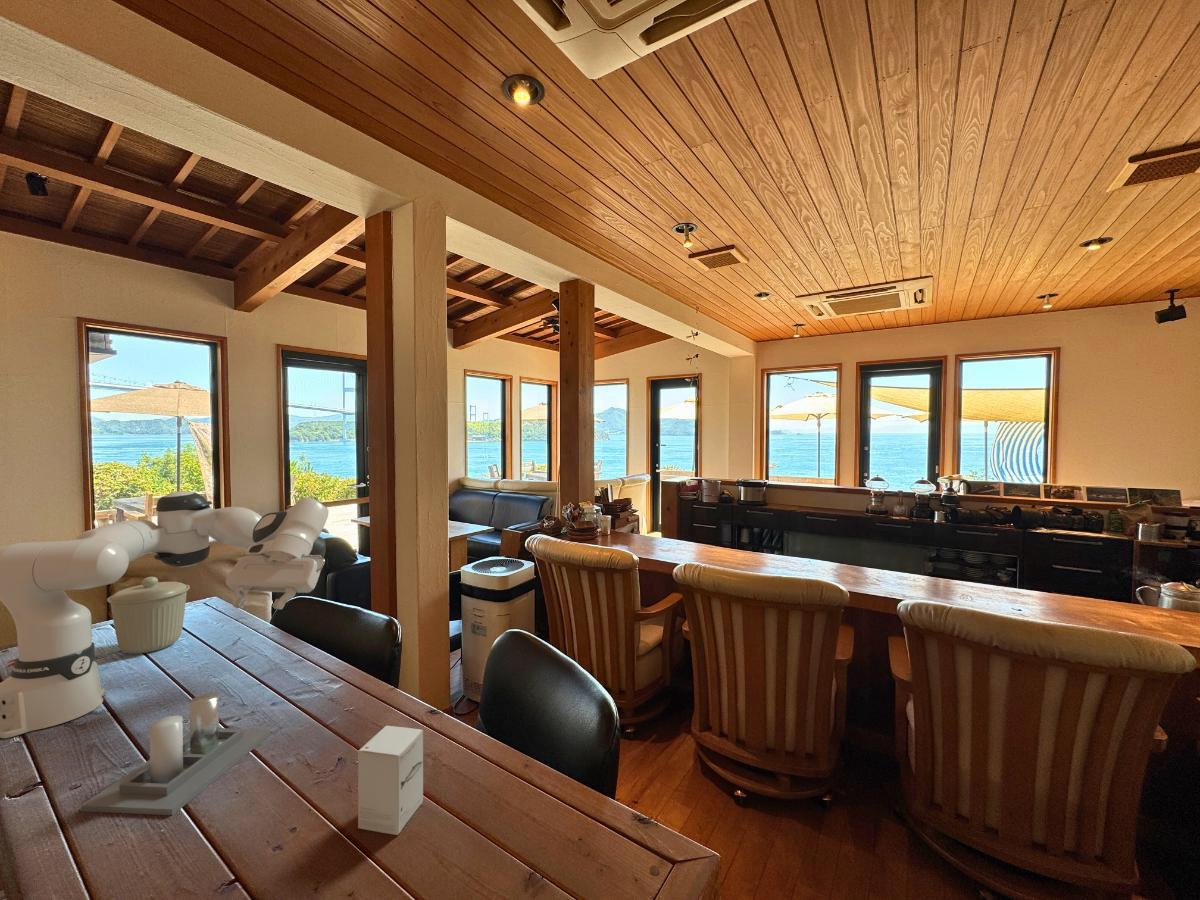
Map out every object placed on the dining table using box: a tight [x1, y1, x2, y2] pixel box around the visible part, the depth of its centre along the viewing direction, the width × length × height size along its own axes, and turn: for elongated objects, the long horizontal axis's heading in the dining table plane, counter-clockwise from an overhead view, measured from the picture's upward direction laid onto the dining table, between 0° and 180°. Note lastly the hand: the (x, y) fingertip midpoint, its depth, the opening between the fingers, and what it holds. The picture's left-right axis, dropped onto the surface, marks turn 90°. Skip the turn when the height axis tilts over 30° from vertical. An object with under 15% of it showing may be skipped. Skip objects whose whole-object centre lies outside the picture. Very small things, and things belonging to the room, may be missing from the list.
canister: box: [106, 576, 191, 655], centre depth 145 cm, size 18×18×21 cm
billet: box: [189, 692, 220, 755], centre depth 95 cm, size 4×4×10 cm
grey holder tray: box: [80, 715, 272, 816], centre depth 91 cm, size 16×22×11 cm
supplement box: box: [357, 725, 424, 836], centre depth 79 cm, size 7×7×13 cm
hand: (256, 607), depth 110 cm, fingers open, 8 cm apart
